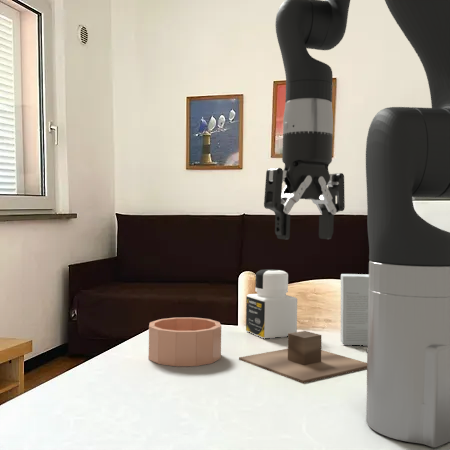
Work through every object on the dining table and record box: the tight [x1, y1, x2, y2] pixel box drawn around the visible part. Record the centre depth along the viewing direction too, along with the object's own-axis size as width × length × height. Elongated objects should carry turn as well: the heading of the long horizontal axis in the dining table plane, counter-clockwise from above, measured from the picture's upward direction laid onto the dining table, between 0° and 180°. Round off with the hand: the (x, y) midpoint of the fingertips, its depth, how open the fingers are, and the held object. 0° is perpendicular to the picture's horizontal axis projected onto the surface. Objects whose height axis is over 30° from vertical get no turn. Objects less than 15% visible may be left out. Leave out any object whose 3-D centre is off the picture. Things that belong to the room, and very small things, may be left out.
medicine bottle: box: [245, 268, 298, 340], centre depth 100 cm, size 7×7×12 cm
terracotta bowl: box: [148, 316, 222, 367], centre depth 83 cm, size 11×11×5 cm
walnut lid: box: [238, 330, 367, 384], centre depth 80 cm, size 14×14×5 cm
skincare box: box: [340, 273, 369, 347], centre depth 93 cm, size 6×4×12 cm
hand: (304, 239), depth 82 cm, fingers open, 8 cm apart
